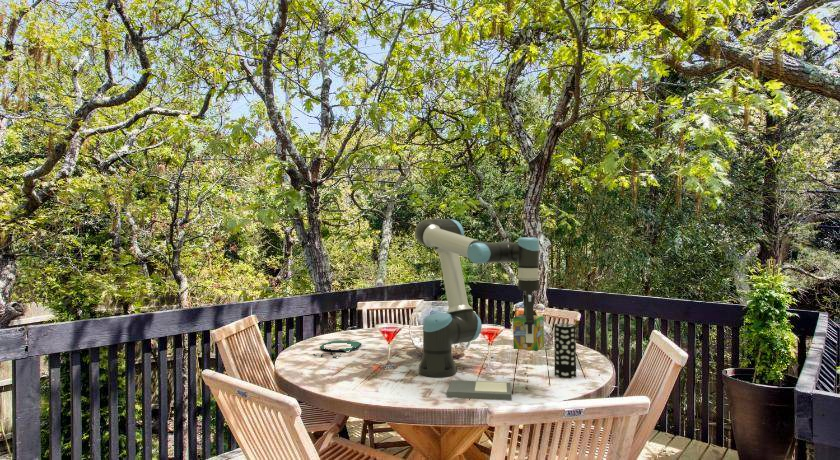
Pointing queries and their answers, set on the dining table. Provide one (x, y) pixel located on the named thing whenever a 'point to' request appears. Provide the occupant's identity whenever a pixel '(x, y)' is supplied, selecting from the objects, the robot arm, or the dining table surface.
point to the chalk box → (520, 333)
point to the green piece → (353, 343)
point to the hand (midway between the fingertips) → (528, 339)
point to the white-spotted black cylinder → (565, 350)
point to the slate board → (480, 390)
